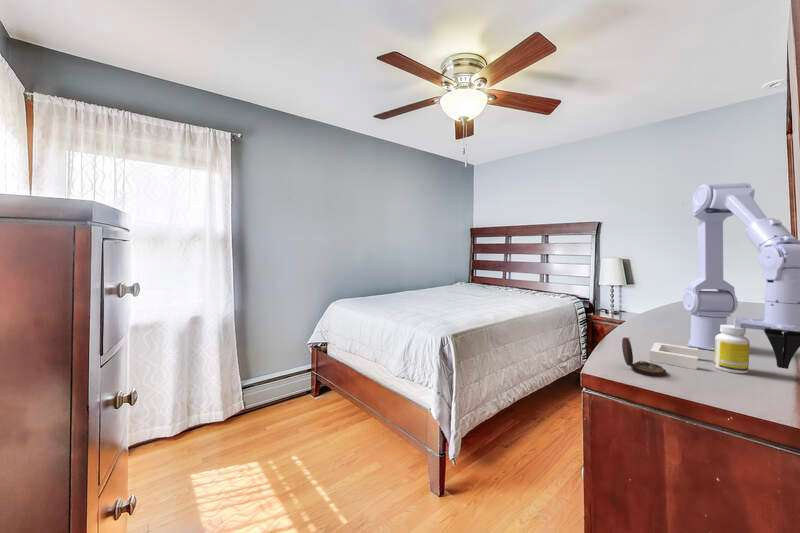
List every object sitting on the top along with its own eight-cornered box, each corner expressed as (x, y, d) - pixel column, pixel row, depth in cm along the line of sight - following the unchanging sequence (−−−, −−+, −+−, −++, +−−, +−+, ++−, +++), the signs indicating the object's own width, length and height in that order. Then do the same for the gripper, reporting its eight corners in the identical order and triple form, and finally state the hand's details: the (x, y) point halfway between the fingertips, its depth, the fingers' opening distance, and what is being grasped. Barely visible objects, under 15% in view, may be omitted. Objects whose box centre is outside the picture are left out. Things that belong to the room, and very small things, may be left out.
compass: (670, 379, 69) (671, 344, 68) (625, 373, 72) (626, 340, 72) (659, 366, 76) (660, 335, 76) (618, 362, 79) (619, 332, 79)
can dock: (654, 351, 87) (655, 342, 87) (698, 358, 81) (698, 348, 81) (649, 360, 80) (649, 350, 80) (696, 369, 74) (697, 358, 74)
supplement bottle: (755, 375, 70) (757, 329, 70) (725, 373, 72) (727, 328, 71) (735, 366, 76) (737, 324, 75) (707, 364, 77) (709, 323, 76)
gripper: (736, 300, 70) (733, 363, 70) (850, 308, 60) (845, 382, 60) (734, 297, 75) (732, 355, 76) (839, 303, 65) (835, 371, 66)
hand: (782, 367), depth 68 cm, fingers closed
